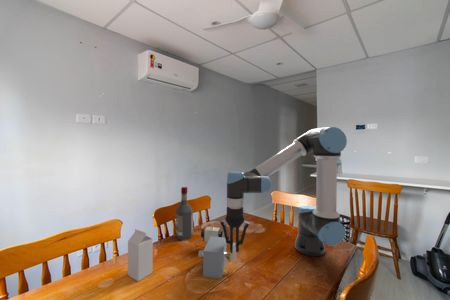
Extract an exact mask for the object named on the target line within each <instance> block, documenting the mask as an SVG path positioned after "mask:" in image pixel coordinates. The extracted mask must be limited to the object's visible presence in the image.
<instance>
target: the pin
mask: <svg viewBox="0 0 450 300" xmlns="http://www.w3.org/2000/svg"><path fill="white" fill-rule="evenodd" d="M203 251H204V249H199V250H198V255H197V256H198V257H199V258H203ZM232 255H233V252H230V249H229V251H228V252H227V251H226V252H224V259H226V260H228V263H233V262H234V260H232Z"/></svg>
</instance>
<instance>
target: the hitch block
mask: <svg viewBox="0 0 450 300" xmlns="http://www.w3.org/2000/svg"><path fill="white" fill-rule="evenodd" d="M227 244H228V243H226V240H225V236H224V237H210V238H209V240H208V242H207V243H206V245H205V247H204V249H203V250H204V251H203V257H202V260H203V261H202V277H206V278H215V279H222V278H223V275H224V270H225V267H226V263H227V259H224V252H227Z"/></svg>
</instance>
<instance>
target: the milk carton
mask: <svg viewBox="0 0 450 300" xmlns="http://www.w3.org/2000/svg"><path fill="white" fill-rule="evenodd" d="M148 234H149V233H147V232H145V231H142V230H140V229H136V228H135V229H134V232H133V234H132V235H131V237H130V238H129V239H128V240H127V276H128V277H129V278H132V279H133V280H135V281H136V282H140V281H141V280H143V279H145V278H147V277H149V275H151V274H152V273H153V272H154V271H153V257H154V255H153V248H154V247H153V245H154V244H153V241H154V240H153V238H151V237H150V236H148Z"/></svg>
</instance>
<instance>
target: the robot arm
mask: <svg viewBox="0 0 450 300" xmlns="http://www.w3.org/2000/svg"><path fill="white" fill-rule="evenodd" d="M347 141H348V140H347V136H346V134H345V132H344V131H343V130H342V129H341V128H339V127H336V126H324V127H317V128H312V129H310V130H308V131H307V132H305V133H303V134H302V135H300V136H299V137H296V139H294V140H293V142H292V143H291V144H290V145H288V146H287V147H285V148H284V149H282V150H280V151H279V152H278V153H276V154H274V155H273V156H271V157H270V158H268V159H266V160H264V161H263V162H262V163H260V164H258V165H257V166H255V167H254V168H253V169H251V170H248V171H244V172H242V171H229V172H227V175H226V206H227V207H226V217H225V218H224V219H221V221H220V225H221V228H222V231H224V238H225V240H226V243H227V244H228V245H230V246H229V250H230V252H233V255H232V260H233V261H237V253H239V249H240V245H243V243H244V239H245V236H246V232H247V229H248V228H249V226H250V221H246V220H245V217H244V204H245V203H244V194H267V193H269V192H270V191H271V188H272V184H271V183H272V181H271V178H270V176H271V175H272V176H273V174H275V173H276V172H278V171H279V170H281V169H282V168H285V167H286V166H288V164H290V163H292V162H293V161H295V160H297V159H298V158H300V157H301V156H303V157H305V156H306V155H308V154H310V153H313V154H312V155H313V157H314V158H315V159H316V177H315V178H316V186H315V187H316V188H315V189H316V190H315V191H316V192H315V193H316V194H315V205H302V206H300V207H298V227H297V228H298V231H297V233H298V234H297V235H296V238H295V241H294V248H295V250H296V251H297V252H299V253H301V254H303V255H306V256H309V257H310V256H311V257H321V256H323V255H324V254H325V253H326V246H329V247H333V246H337V245H339V244H340V243H341V242H342V241H343V240H344V239H345V237H346V228H345V226H344V225H343V224H342V223H341V216H340V215H341V214H340V213H339V212H338V211H337V195H338V193H337V185H338V184H337V183H338V171H337V170H338V159H340V158H342V157H341V155H342V151H344V149H345V148H346V147H347V143H348V142H347ZM242 224H243V229H242V233H241V235H240V228H241V226H242ZM227 225H228V226H229V230H230V231H228V228H227ZM234 228H235V229H234ZM234 230H235V242H234ZM229 234H230V235H229ZM240 236H241V237H240ZM325 245H326V246H325Z"/></svg>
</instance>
